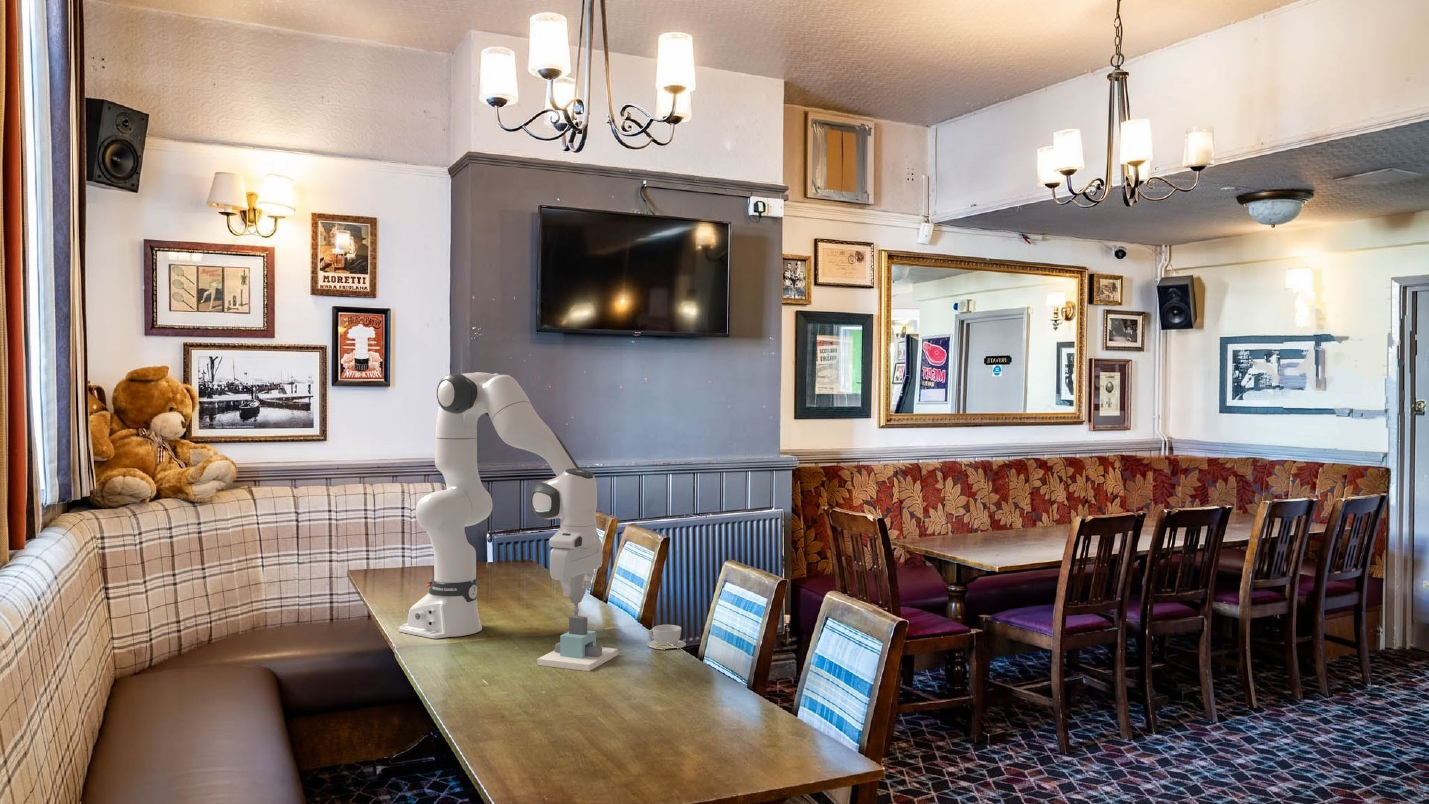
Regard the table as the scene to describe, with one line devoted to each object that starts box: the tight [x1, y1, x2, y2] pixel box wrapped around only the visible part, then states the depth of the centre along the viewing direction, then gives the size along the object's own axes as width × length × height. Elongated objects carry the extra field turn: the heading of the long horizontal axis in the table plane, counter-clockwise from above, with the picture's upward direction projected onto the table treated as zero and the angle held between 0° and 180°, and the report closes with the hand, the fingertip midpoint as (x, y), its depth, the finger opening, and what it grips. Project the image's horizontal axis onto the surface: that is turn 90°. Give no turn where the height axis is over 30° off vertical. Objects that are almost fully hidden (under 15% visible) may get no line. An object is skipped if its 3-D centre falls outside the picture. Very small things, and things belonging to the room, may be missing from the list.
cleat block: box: [559, 615, 597, 659], centre depth 239 cm, size 6×7×9 cm
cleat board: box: [536, 641, 619, 672], centre depth 239 cm, size 14×15×4 cm
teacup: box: [647, 624, 687, 650], centre depth 253 cm, size 10×10×5 cm
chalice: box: [567, 573, 587, 632], centre depth 262 cm, size 7×7×18 cm
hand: (577, 592), depth 239 cm, fingers open, 8 cm apart
